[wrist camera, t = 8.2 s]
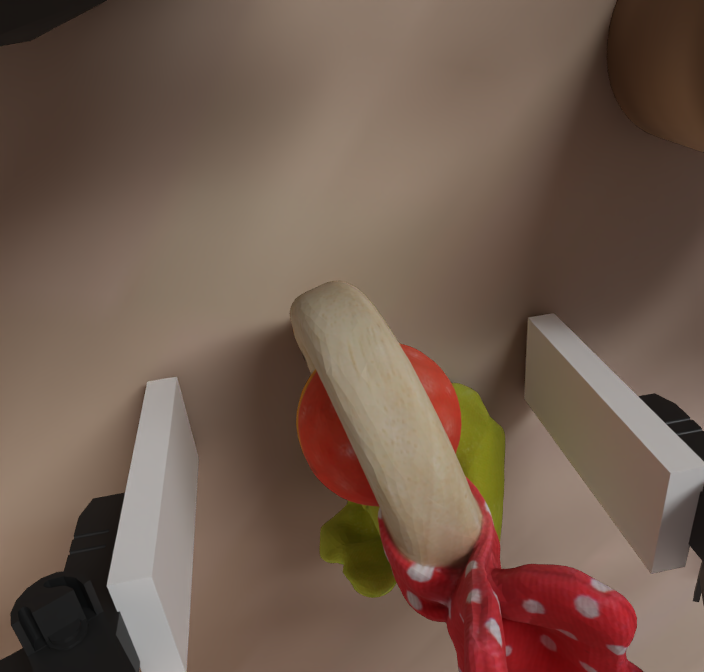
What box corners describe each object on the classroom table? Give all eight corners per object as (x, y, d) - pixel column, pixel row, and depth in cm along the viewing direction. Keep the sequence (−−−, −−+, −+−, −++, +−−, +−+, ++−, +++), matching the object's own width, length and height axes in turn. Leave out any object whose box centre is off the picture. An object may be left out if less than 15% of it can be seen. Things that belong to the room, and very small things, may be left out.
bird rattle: (216, 334, 19) (353, 596, 20) (21, 440, 8) (354, 1022, 9) (408, 238, 18) (539, 509, 19) (490, 206, 7) (784, 838, 8)
